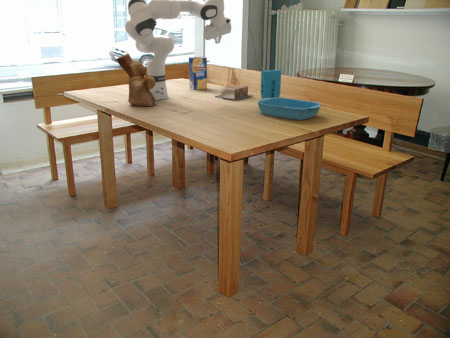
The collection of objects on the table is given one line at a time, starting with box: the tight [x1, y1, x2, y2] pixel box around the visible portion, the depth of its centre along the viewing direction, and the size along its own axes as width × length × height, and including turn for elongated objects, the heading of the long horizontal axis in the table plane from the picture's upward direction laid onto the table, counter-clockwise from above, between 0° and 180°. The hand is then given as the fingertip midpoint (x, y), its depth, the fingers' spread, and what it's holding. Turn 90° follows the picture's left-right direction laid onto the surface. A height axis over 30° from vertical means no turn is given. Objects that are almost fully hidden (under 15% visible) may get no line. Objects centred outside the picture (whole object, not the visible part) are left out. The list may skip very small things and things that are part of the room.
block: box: [260, 69, 282, 99], centre depth 272 cm, size 12×5×20 cm, turn 120°
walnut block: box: [220, 84, 249, 100], centre depth 295 cm, size 6×10×16 cm
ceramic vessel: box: [116, 53, 156, 107], centre depth 268 cm, size 16×22×30 cm
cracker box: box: [188, 56, 208, 91], centre depth 326 cm, size 7×11×22 cm, turn 122°
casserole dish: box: [257, 96, 322, 121], centre depth 247 cm, size 37×22×7 cm, turn 47°
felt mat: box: [214, 94, 254, 101], centre depth 298 cm, size 18×18×1 cm
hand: (217, 43), depth 287 cm, fingers closed
